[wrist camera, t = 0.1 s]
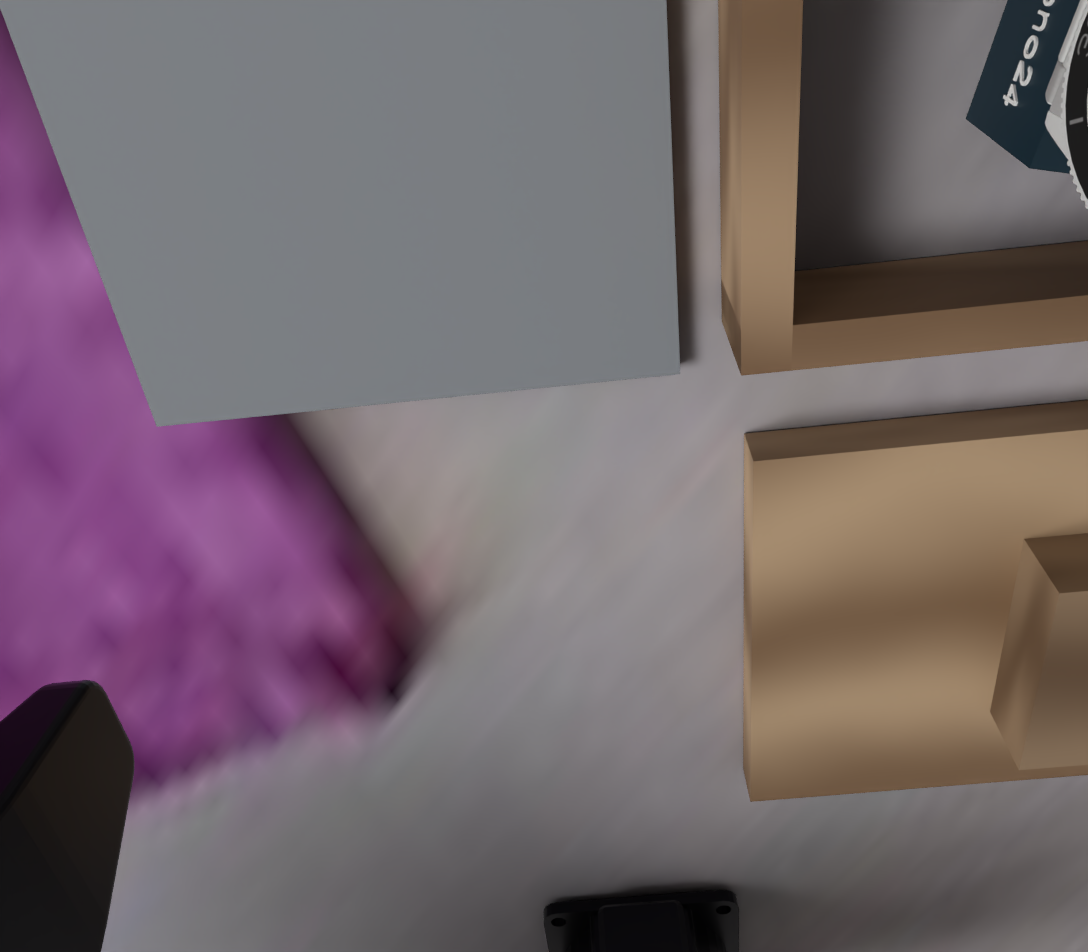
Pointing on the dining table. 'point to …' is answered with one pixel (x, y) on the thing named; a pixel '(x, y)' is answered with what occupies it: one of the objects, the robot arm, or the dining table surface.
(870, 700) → the lid
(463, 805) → the dining table surface
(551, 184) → the felt mat
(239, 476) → the dining table surface
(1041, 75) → the watch
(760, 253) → the wooden rectangular frame
